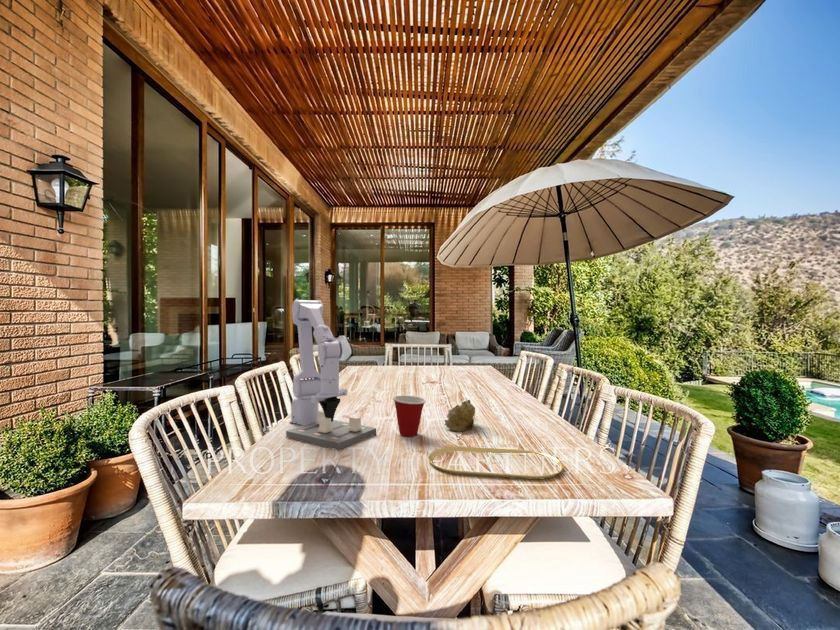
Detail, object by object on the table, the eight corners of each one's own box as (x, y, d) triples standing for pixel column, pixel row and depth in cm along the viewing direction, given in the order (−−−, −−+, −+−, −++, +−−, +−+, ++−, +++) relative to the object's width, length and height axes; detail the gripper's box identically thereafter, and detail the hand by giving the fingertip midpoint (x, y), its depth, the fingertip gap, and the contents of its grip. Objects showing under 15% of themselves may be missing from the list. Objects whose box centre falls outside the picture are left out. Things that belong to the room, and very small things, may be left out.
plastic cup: (427, 439, 130) (427, 401, 130) (393, 439, 129) (393, 401, 129) (424, 429, 141) (424, 394, 140) (392, 429, 140) (392, 394, 140)
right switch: (347, 430, 131) (347, 417, 130) (354, 427, 133) (354, 415, 133) (355, 431, 129) (355, 419, 129) (362, 429, 132) (362, 416, 132)
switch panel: (286, 437, 130) (286, 430, 130) (326, 424, 145) (326, 418, 145) (338, 449, 119) (338, 442, 119) (376, 434, 134) (376, 427, 134)
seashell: (474, 425, 151) (473, 397, 152) (478, 432, 137) (477, 402, 138) (444, 425, 152) (443, 397, 153) (445, 432, 137) (444, 402, 138)
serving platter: (569, 485, 97) (570, 478, 97) (423, 474, 103) (424, 468, 102) (555, 457, 116) (555, 451, 116) (432, 449, 121) (432, 444, 121)
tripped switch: (317, 431, 129) (317, 418, 129) (325, 428, 132) (325, 416, 132) (325, 433, 127) (325, 420, 127) (332, 430, 130) (332, 417, 130)
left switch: (315, 423, 138) (315, 411, 138) (322, 421, 140) (322, 409, 140) (322, 425, 136) (322, 413, 136) (329, 422, 139) (329, 411, 139)
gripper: (322, 383, 123) (322, 428, 123) (354, 377, 135) (353, 418, 135) (305, 381, 126) (305, 425, 126) (338, 375, 139) (337, 415, 139)
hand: (329, 421), depth 131 cm, fingers closed
